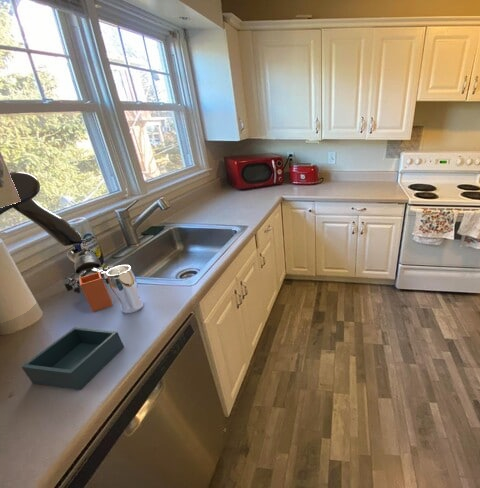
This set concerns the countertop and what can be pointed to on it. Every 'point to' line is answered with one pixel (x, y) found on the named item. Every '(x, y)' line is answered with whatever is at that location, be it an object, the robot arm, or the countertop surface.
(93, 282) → the small bin
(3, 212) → the robot arm
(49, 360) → the big bin
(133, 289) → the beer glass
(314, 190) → the countertop surface
